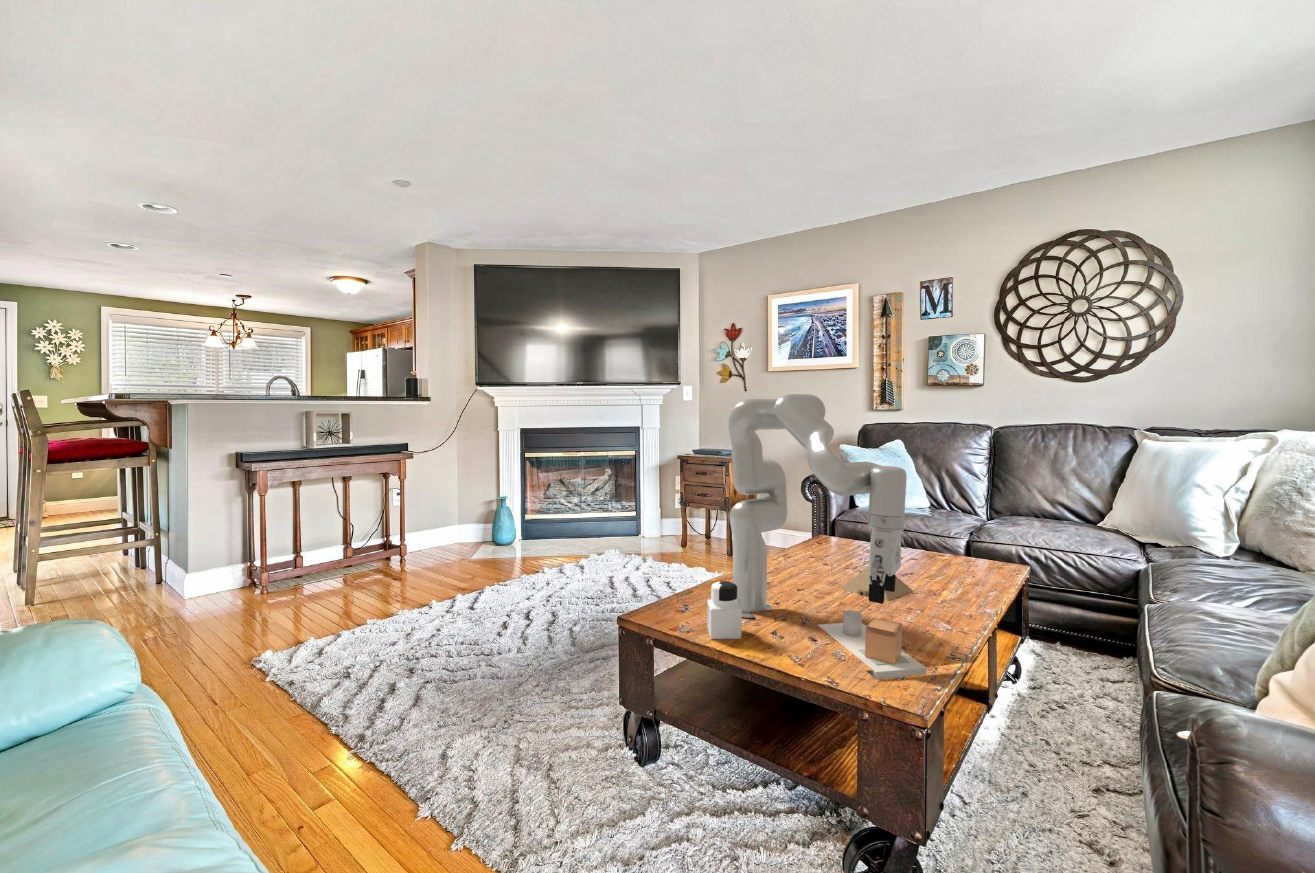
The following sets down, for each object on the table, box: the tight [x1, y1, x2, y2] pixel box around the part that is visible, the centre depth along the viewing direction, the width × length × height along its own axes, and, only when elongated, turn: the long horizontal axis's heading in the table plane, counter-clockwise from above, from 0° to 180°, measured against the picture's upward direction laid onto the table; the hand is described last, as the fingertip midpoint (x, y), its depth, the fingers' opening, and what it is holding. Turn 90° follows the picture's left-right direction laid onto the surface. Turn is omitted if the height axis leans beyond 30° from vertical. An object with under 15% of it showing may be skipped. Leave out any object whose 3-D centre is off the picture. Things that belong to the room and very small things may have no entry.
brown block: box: [865, 617, 903, 664], centre depth 134 cm, size 6×6×7 cm
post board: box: [817, 609, 928, 680], centre depth 141 cm, size 12×28×6 cm, turn 10°
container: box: [706, 580, 743, 640], centre depth 151 cm, size 8×8×13 cm
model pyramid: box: [839, 565, 913, 602], centre depth 188 cm, size 17×17×10 cm
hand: (881, 596), depth 134 cm, fingers open, 9 cm apart
